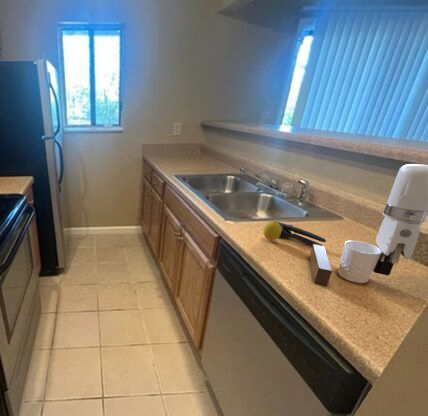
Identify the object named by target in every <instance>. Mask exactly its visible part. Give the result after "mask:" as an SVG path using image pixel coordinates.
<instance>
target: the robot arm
mask: <svg viewBox="0 0 428 416" xmlns="http://www.w3.org/2000/svg"><path fill="white" fill-rule="evenodd" d="M427 215H428V164H422V163H421V164H420V163H408V164H405V165H402V166H400V167H399V170H398V172H397V174H396V177H395V179H394V182H393V185H392V187H391V190H390V193H389V196H388V198H387V201H386V204H385V206H384V209H383V211H382V216H383V217H384V218H383V220H382V222H381V224H380V226H379V229H378V231H377V235H376V238H375V243H376V245H377V247H378V248H380V249H381V250H382V253H381V256H380V258H379V260H378V262H377V264H376V266H375V268H374V270H373V273H375V274H379V275H384V276H389V275H391V272H392V270H393V267H394V265H395V264H399V261H400V258H401V256H402V257H403V258H404V259H405V260H410V259H412V256H413V253H414V250H415V248H416V245H417V241H418V239H419V235H420V231H421V225H422V224H423V223H425V220H426V218H427Z"/></svg>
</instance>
